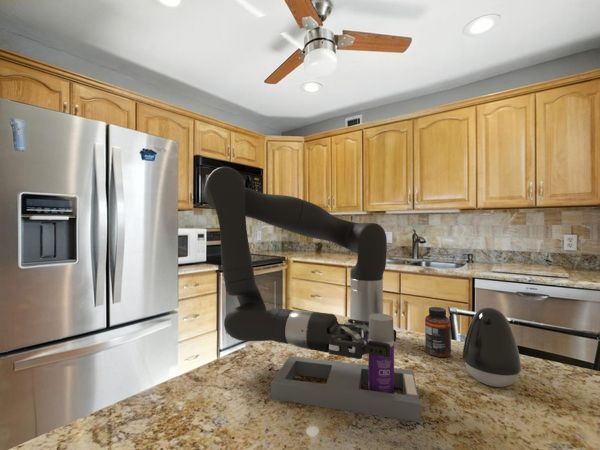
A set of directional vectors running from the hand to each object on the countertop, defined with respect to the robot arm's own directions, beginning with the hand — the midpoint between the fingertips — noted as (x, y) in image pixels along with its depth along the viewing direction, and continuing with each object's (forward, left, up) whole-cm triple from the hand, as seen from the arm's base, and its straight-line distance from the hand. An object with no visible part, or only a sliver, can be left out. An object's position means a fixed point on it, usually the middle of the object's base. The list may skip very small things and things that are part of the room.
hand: (393, 342), depth 55 cm
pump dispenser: (-12, +20, -11) cm, 26 cm away
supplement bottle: (-24, +12, -11) cm, 29 cm away
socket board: (0, -9, -11) cm, 14 cm away
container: (-1, -2, -11) cm, 11 cm away
